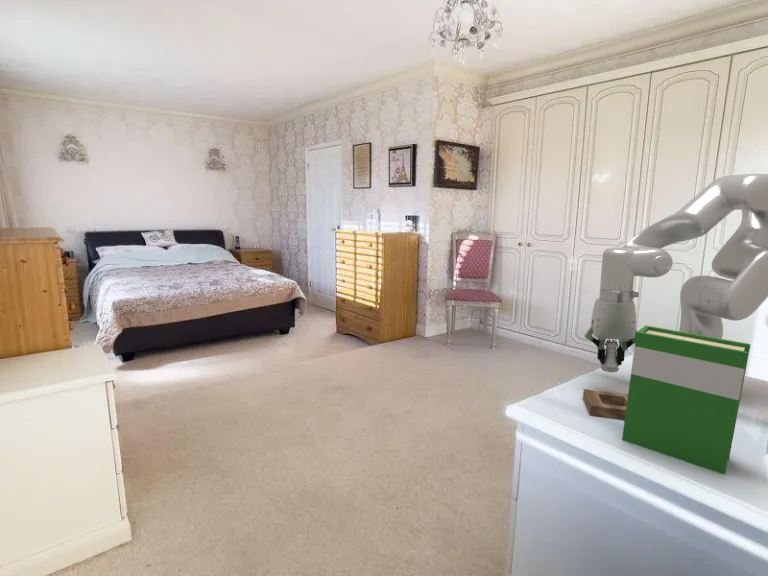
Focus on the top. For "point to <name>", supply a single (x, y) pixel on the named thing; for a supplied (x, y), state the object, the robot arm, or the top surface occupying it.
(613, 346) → the rook chess piece
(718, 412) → the hardback book
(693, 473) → the top surface
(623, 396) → the socket board
